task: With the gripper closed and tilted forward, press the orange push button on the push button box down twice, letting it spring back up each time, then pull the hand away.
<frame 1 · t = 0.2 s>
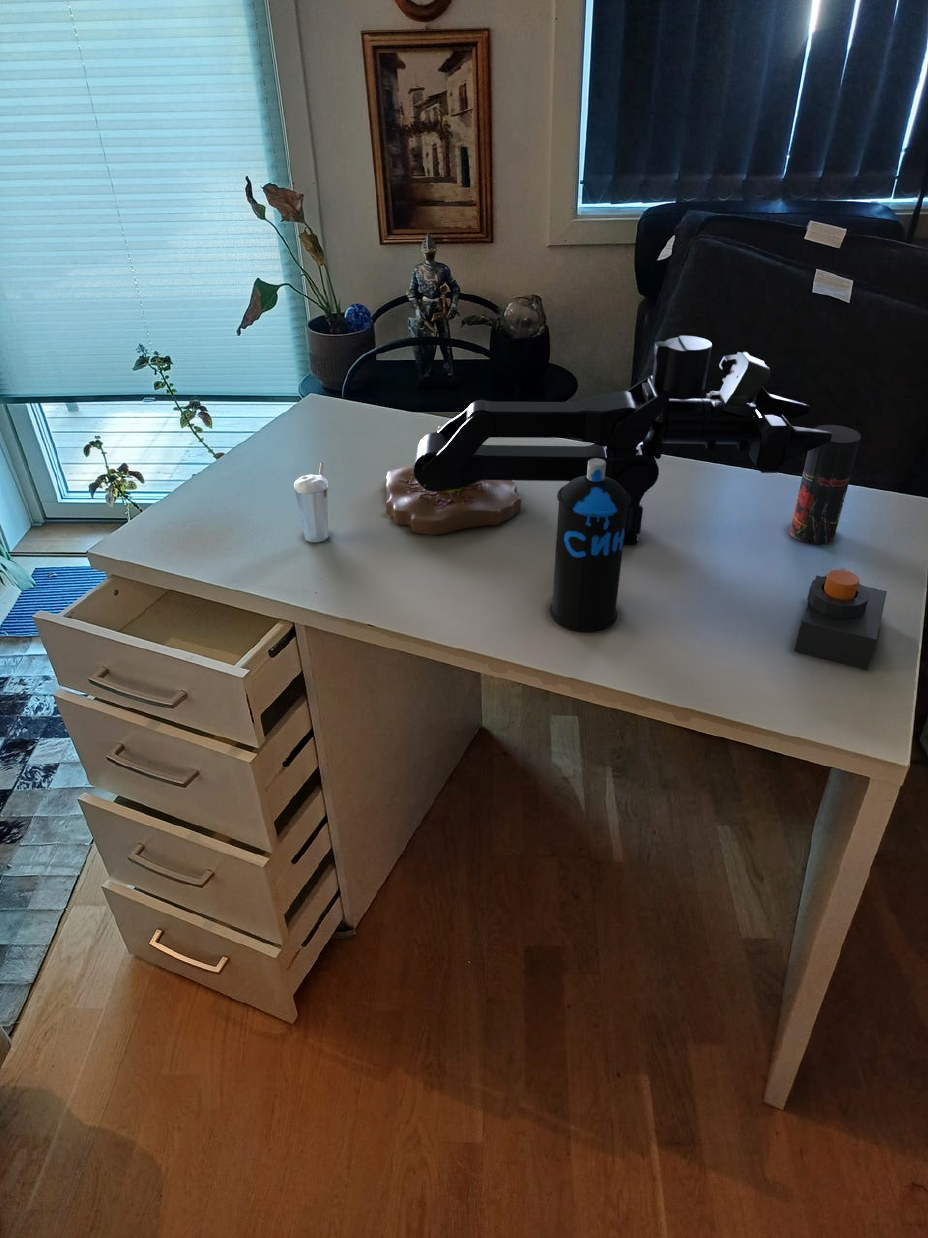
hand: (819, 422, 116), 17 cm above the table, tool horizontal, fingers open, 9 cm apart
deodorant: (811, 535, 126), on the table
orange push button: (841, 585, 102), point 7 cm above the table, slide at 0.1 cm
milkshake: (318, 537, 126), on the table
push button box: (836, 635, 106), on the table
aerosol can: (583, 614, 110), on the table
plant: (448, 501, 135), on the table
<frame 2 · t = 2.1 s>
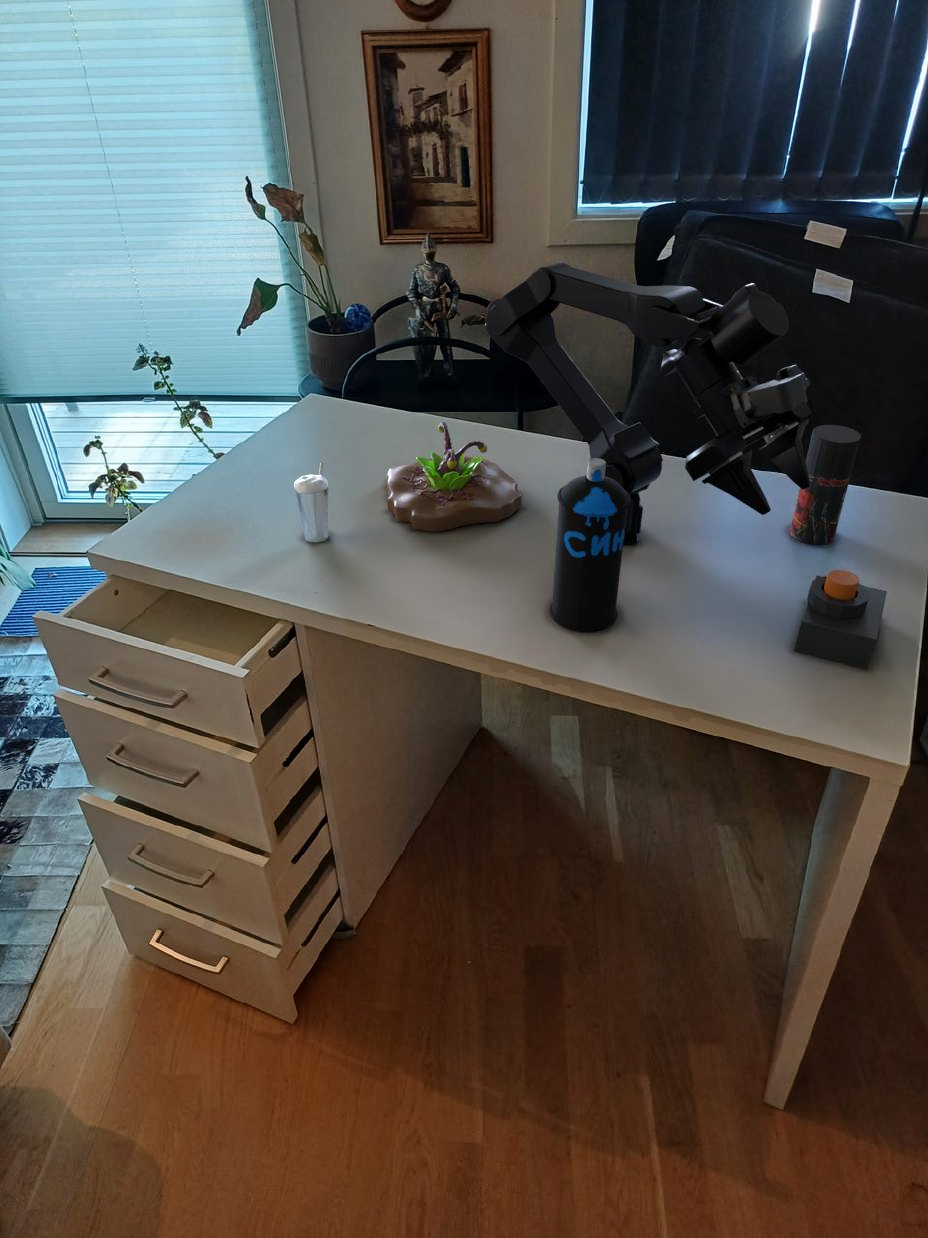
hand: (787, 499, 104), 14 cm above the table, tool tilted 45°, fingers open, 9 cm apart
nothing on the table moved.
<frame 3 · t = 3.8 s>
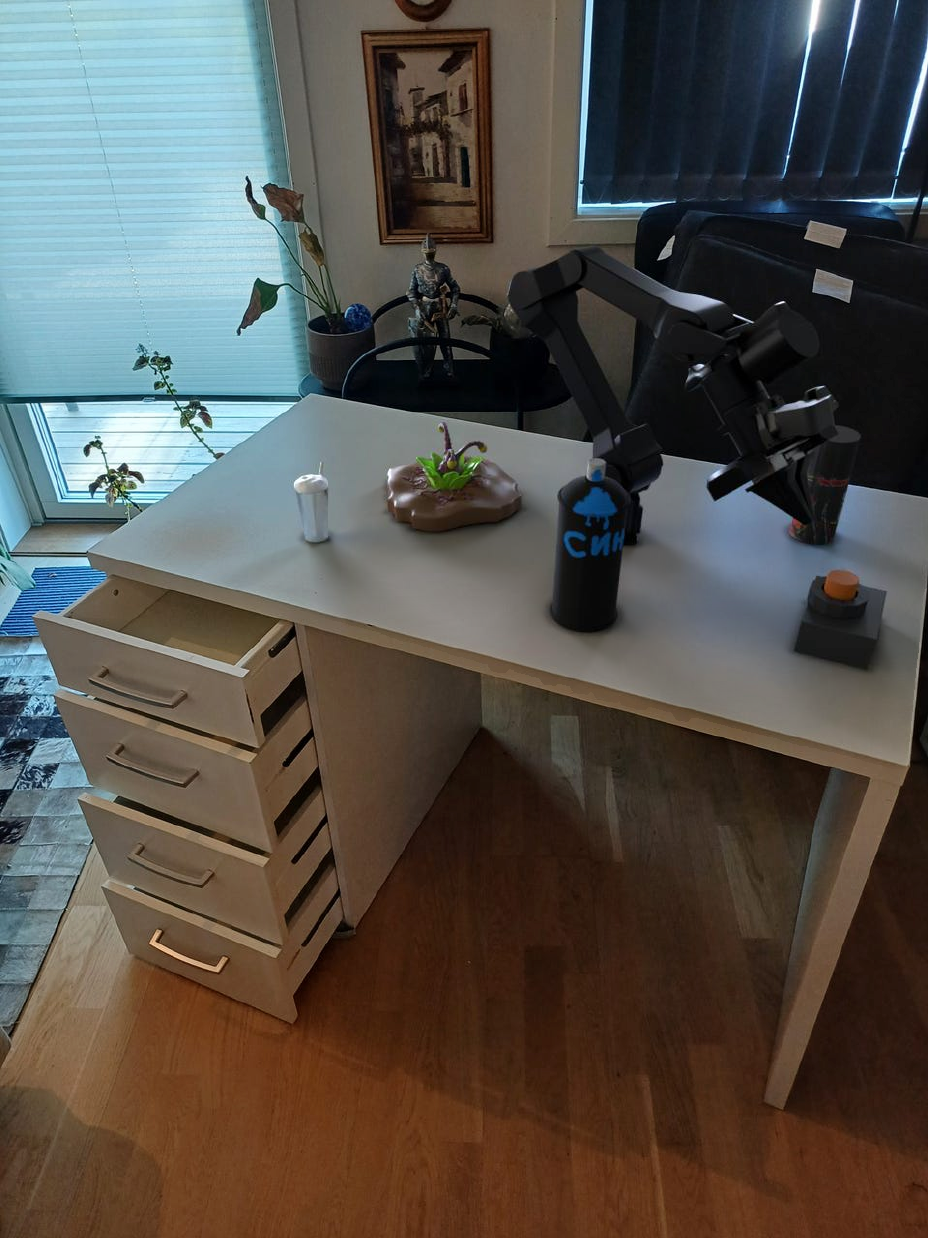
hand: (809, 523, 102), 13 cm above the table, tool tilted 45°, fingers closed
nothing on the table moved.
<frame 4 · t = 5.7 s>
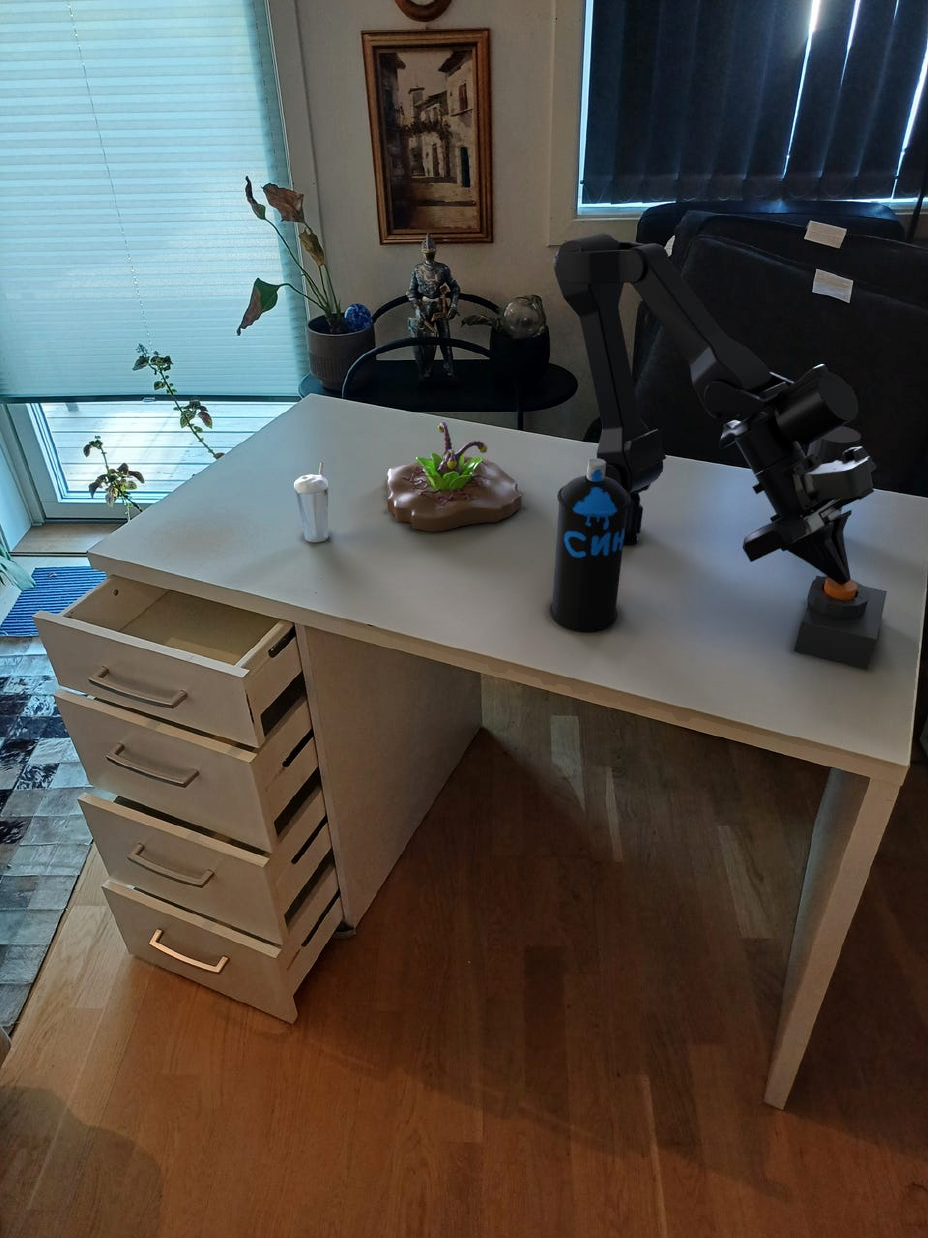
hand: (845, 582, 102), 7 cm above the table, tool tilted 45°, fingers closed, pressing on orange push button
orange push button: (839, 591, 103), point 6 cm above the table, slide at -0.7 cm, touching gripper
everything else where it was.
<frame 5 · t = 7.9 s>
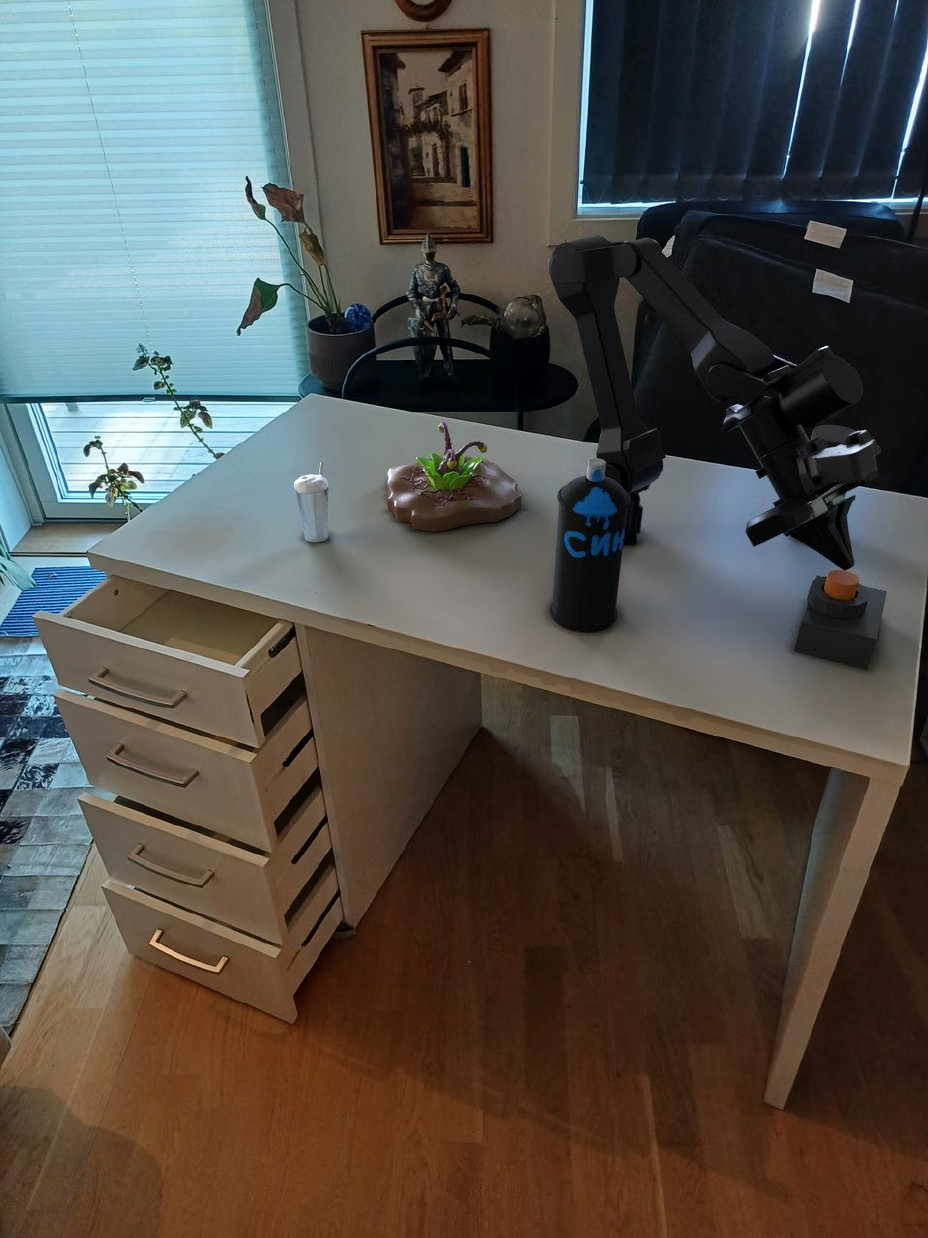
hand: (849, 568, 101), 9 cm above the table, tool tilted 45°, fingers closed
orange push button: (841, 585, 102), point 7 cm above the table, slide at 0.1 cm
everything else where it was.
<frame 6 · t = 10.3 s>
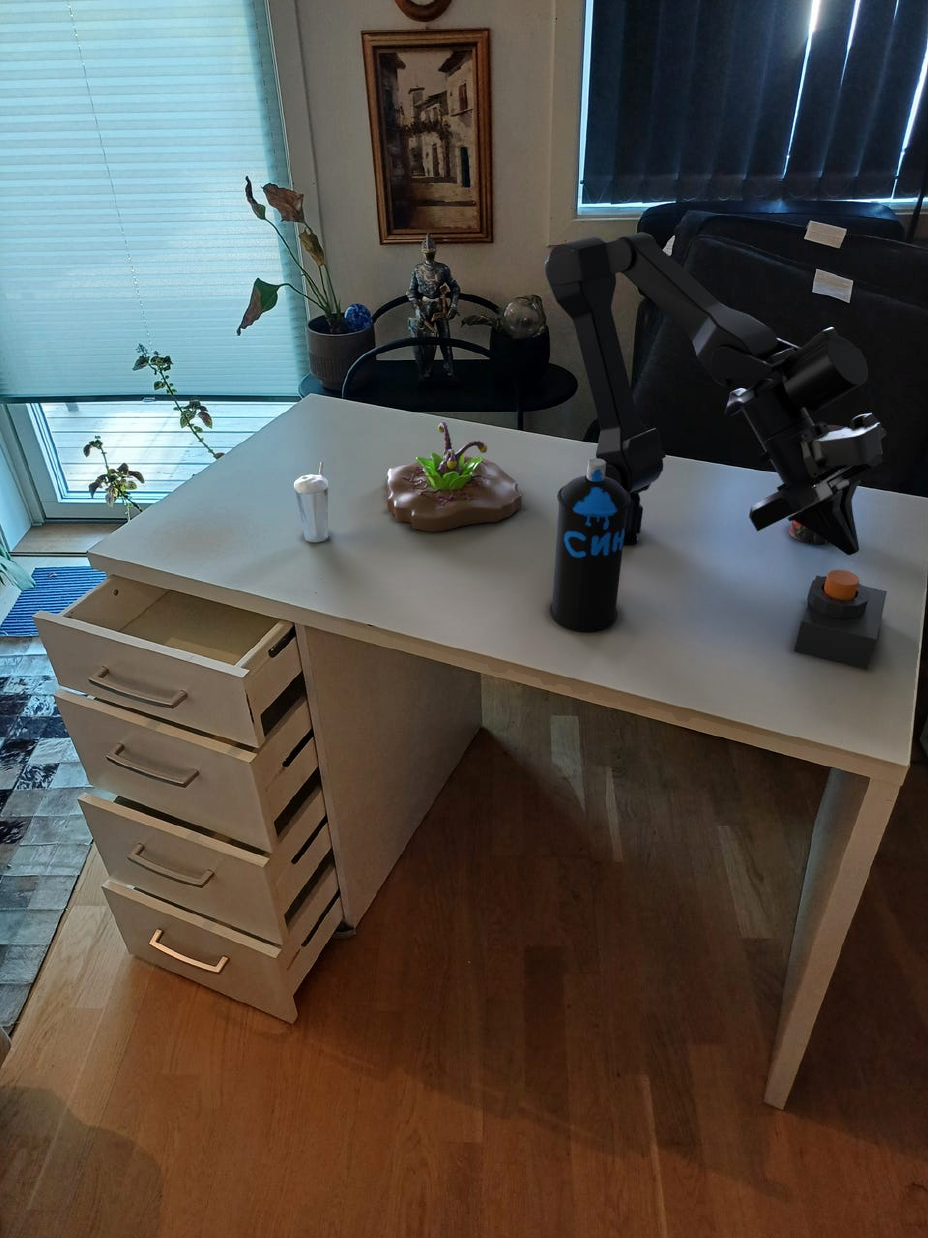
hand: (854, 553, 100), 11 cm above the table, tool tilted 45°, fingers closed
nothing on the table moved.
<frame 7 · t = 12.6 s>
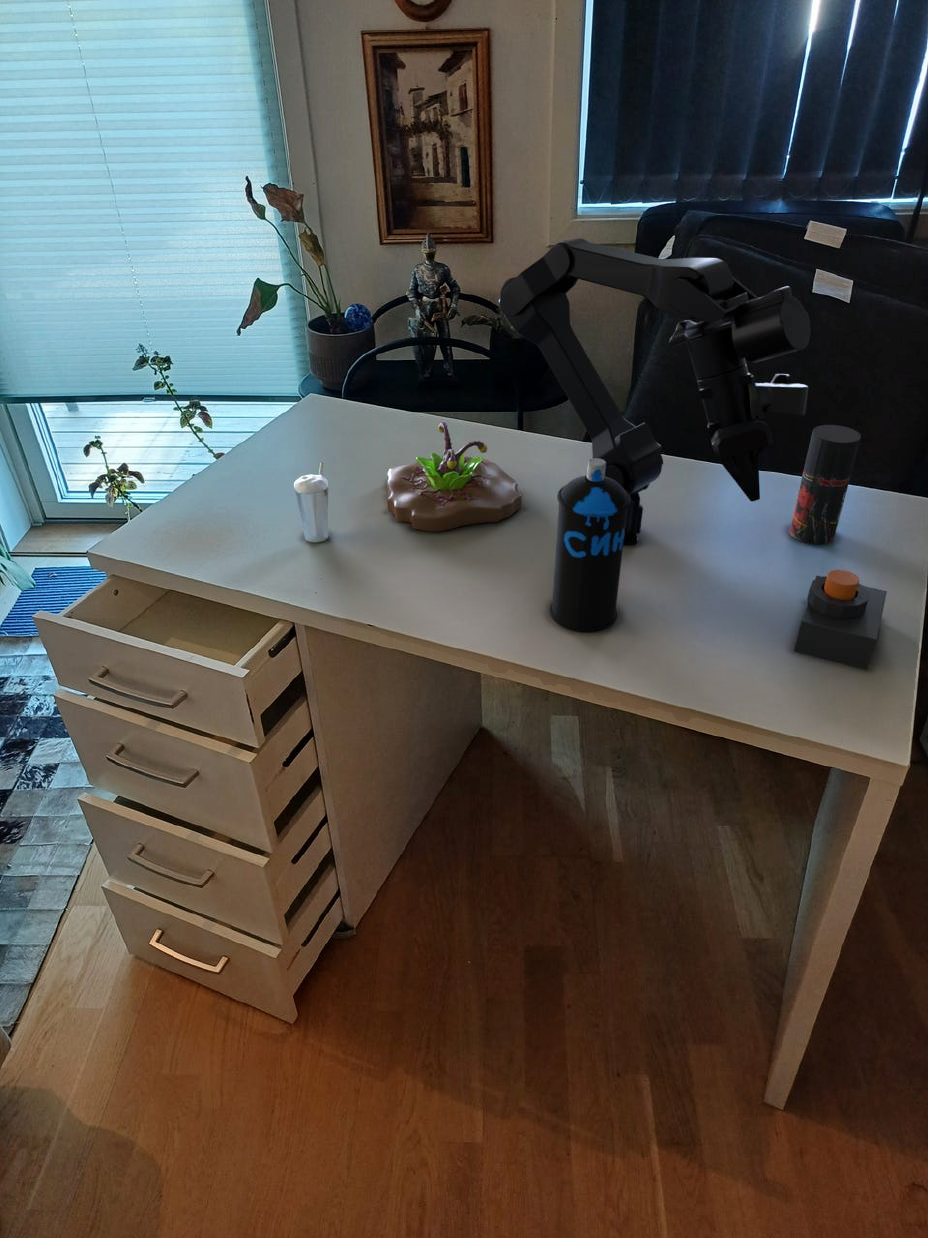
hand: (755, 500, 108), 12 cm above the table, tool tilted 25°, fingers closed
nothing on the table moved.
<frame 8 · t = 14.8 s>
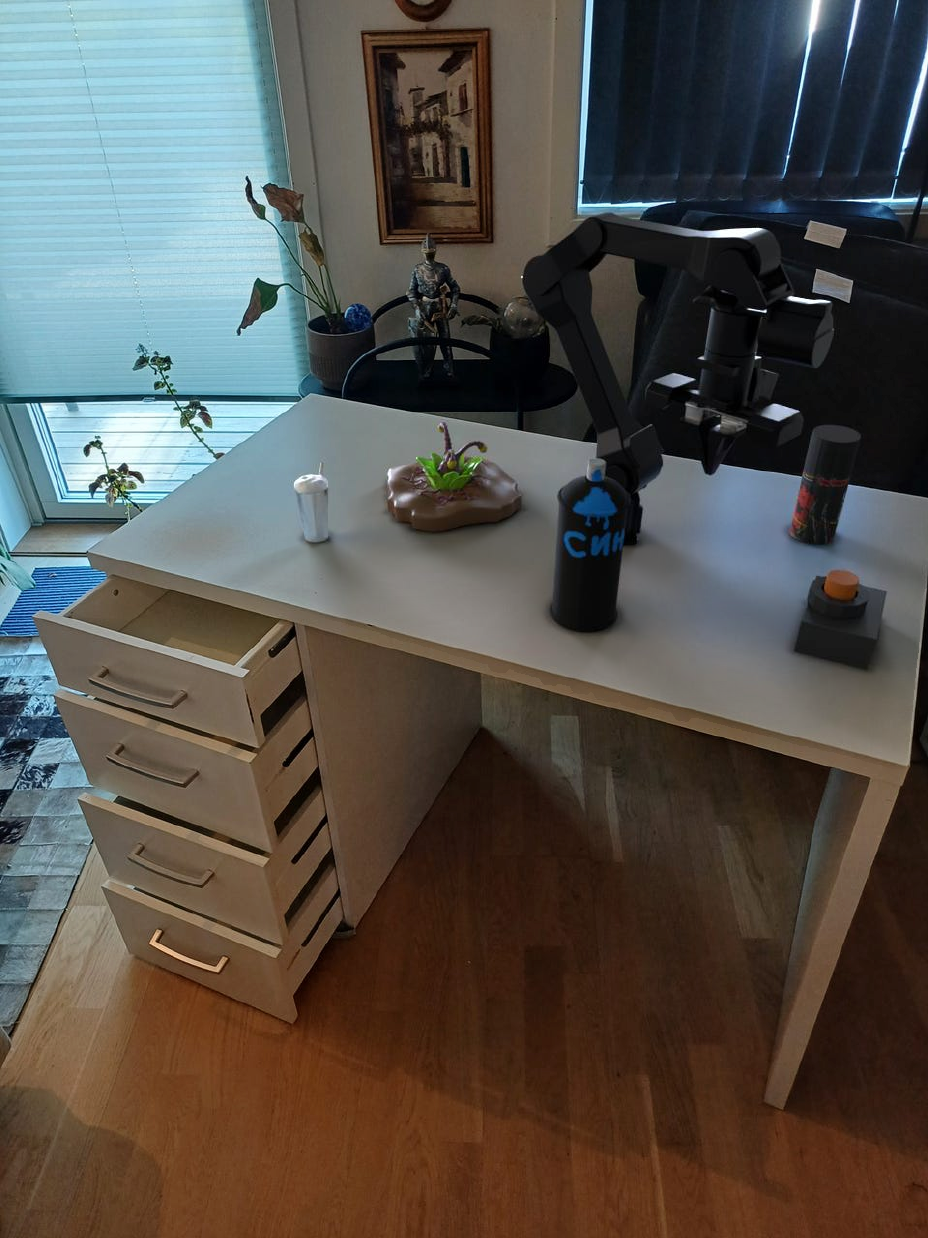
hand: (709, 473, 112), 13 cm above the table, tool pointing down, fingers closed
nothing on the table moved.
at the end: orange push button pushed in 1.0 cm at the most during the clip, back to where it started at the end; orange push button slide at 0.1 cm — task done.
